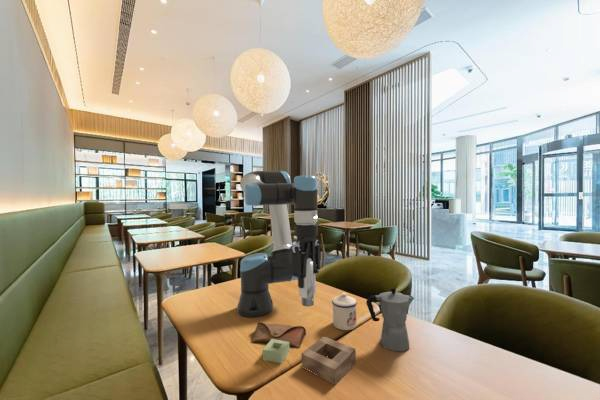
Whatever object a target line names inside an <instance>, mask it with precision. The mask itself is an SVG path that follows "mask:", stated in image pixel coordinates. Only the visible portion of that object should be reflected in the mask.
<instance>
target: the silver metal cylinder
mask: <svg viewBox="0 0 600 400" xmlns="http://www.w3.org/2000/svg"><path fill="white" fill-rule="evenodd" d="M301 274H302V273H301ZM305 277H307V298H303V297H301V305H302V306H304V307H312V306H314V304H315V297H314V295H315V294H314V282H313V261H312V260H311V258H310V257H308V256H307V261H306V270H305Z"/></svg>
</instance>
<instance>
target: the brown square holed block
mask: <svg viewBox="0 0 600 400" xmlns="http://www.w3.org/2000/svg"><path fill="white" fill-rule="evenodd" d="M356 355H357V352H356V348H354V347H352V346H350V345H346V344H344V343H343V342H339V341H337V340H334V339H332V338H329V337H326V336H322V337H320V338H319V339H318V340H317V341H315V342H314V343H313V344H312V345H310V346H309V347H308V348H306V349H304V351H302V352H301V368H302V367H304V368H306V369H308V370H310V371H312V372H313V373H315V374H317V375H318V376H317V375H316V376H317V377H319V376H320V377H319V378H321V377H322V378H324V379H326V380H327V381H326V380H325V381H326V382H328V381H329V382H328V383H330V382H331V383H330V384H332V383H333V384H332V385H333V386H337V385H338V383H339V382H340V381H341V380H342V379H343V378H344V376H346V374H347V373H348V372H349V371H350V370H351V369H352V368H353V367H352V366H355V364H357V356H356ZM326 356H328V357H330V358H332V359H330V358H328V357H326ZM304 368H303V369H304ZM306 369H305V370H306ZM313 373H312V374H313ZM315 374H314V375H315ZM322 378H321V379H322ZM324 379H323V380H324Z"/></svg>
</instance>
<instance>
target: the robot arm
mask: <svg viewBox="0 0 600 400" xmlns="http://www.w3.org/2000/svg"><path fill="white" fill-rule="evenodd" d="M239 184H240V189H241V190H242V192H243V193H244V202H245V205H246V206H254V207H257V206H269V214H270V215H269V216H270V224H271V234H272V241H273V242H272V243H273V249H272V250H271V252H270V255H268V253H266V252H256V253H253V254H249V255H246V256H244V257H243V258H242V259H241V260H240V268H239V271H240V296H239V300H238V302H237V308H236V309H237V311H238V312H237V314H238V313H239V314H238V315H239V316H241V317H244V318H256V317H264V316H265V315H267V314H270V313H271V312H272V311H273V310H274V301H273V299H272V296H271V294H270V291H269V284H270V285H271V284H278V283H285V282H290V283H291V282H292V281H297V287H298V297H300V298H302V297H303V298H307V277H305V270H306V261H307V256H308V257H310V258H311V260H312V261H313V282H314V295H315V294H316V291H317V289H316V287H317V286H316V285H317V284H316V281H317V274H319V272H320V271H319V270H320V268H321V244H322V240H319V239H317V236H318V234H319V227H318V225H319V224H318V222H319V221H318V188H319V187H318V179H317V177H316V176H315V175H297V176H294V178H293V182H292V180H291V176H290V175H289V173H288V172H287V171H284V170H254V171H250V172H248V173H246V174H244V175H243V176H242V177H241V179H240V182H239ZM288 205H294V206H293V207H294V213H293V217H294V223H295V224H294V235H295V237H296V241H295V242H296V243H295V244H294V245H293V242H292V233H291V225H290V218H289V210H288ZM301 273H302V274H301Z"/></svg>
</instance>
